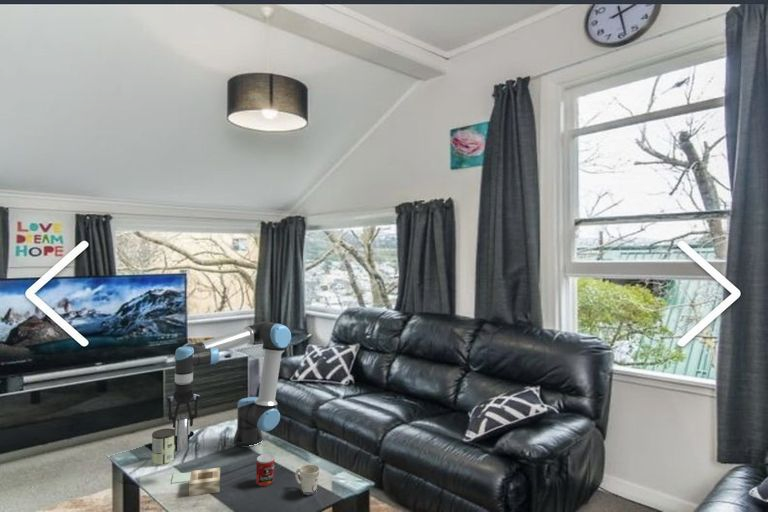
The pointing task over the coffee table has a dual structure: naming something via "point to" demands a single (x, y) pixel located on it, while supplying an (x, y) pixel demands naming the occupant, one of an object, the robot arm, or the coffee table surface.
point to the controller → (188, 436)
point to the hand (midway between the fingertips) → (182, 433)
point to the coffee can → (163, 447)
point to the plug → (182, 434)
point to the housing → (204, 481)
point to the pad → (181, 477)
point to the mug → (308, 477)
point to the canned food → (265, 469)
